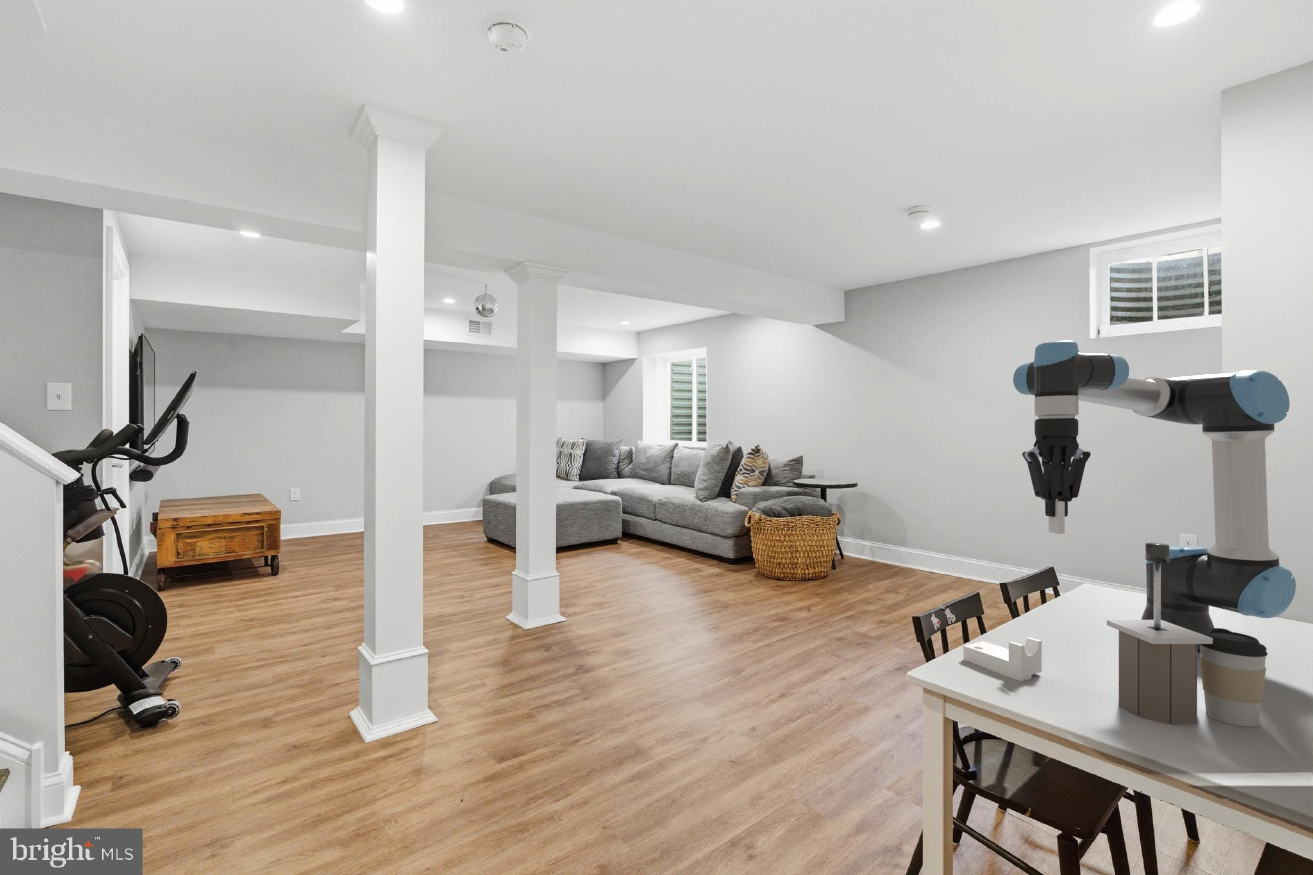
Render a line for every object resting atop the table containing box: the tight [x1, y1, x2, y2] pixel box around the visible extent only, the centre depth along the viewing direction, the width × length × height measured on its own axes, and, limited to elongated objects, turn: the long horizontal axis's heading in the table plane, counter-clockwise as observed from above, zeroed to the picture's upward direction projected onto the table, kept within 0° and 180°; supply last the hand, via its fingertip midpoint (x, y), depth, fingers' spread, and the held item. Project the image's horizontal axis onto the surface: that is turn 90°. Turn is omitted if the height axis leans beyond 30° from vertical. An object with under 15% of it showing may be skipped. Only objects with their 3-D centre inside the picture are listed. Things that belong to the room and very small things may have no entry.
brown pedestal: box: [1106, 619, 1213, 725], centre depth 111 cm, size 11×11×15 cm
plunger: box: [1144, 542, 1170, 631], centre depth 111 cm, size 7×7×19 cm
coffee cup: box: [1199, 627, 1269, 727], centre depth 108 cm, size 9×9×15 cm
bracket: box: [962, 636, 1043, 682], centre depth 131 cm, size 13×7×8 cm, turn 27°
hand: (1056, 532), depth 123 cm, fingers closed
